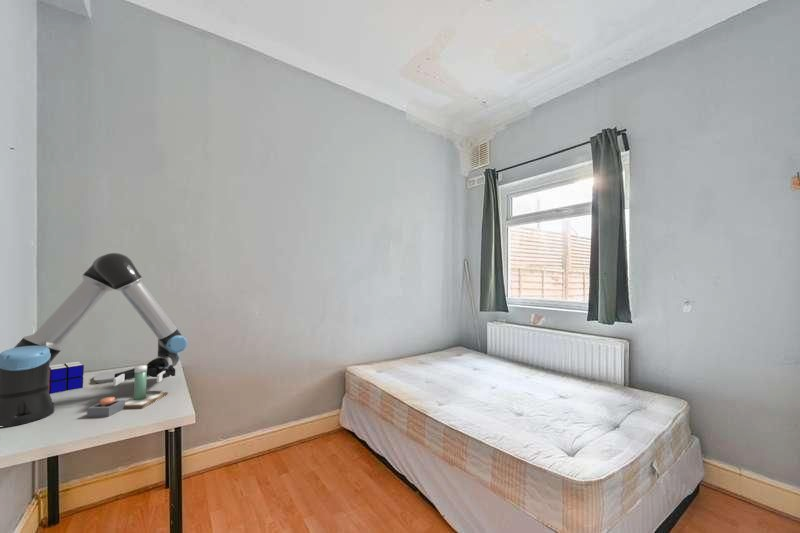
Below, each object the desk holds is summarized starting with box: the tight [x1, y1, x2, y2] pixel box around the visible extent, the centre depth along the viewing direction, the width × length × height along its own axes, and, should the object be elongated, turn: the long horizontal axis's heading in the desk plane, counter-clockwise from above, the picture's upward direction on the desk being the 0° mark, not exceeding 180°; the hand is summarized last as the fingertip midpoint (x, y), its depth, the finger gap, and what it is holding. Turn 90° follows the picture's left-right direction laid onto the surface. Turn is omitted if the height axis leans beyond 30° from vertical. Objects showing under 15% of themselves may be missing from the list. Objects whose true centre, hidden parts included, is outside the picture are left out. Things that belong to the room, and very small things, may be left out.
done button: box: [98, 396, 116, 405], centre depth 113 cm, size 4×4×2 cm
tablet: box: [93, 367, 135, 385], centre depth 157 cm, size 16×26×2 cm, turn 130°
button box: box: [86, 399, 126, 418], centre depth 113 cm, size 7×7×3 cm
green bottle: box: [133, 364, 148, 400], centre depth 123 cm, size 4×4×12 cm
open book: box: [123, 390, 169, 410], centre depth 123 cm, size 14×10×2 cm
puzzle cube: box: [48, 361, 85, 395], centre depth 138 cm, size 10×10×10 cm
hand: (136, 380), depth 120 cm, fingers open, 13 cm apart
